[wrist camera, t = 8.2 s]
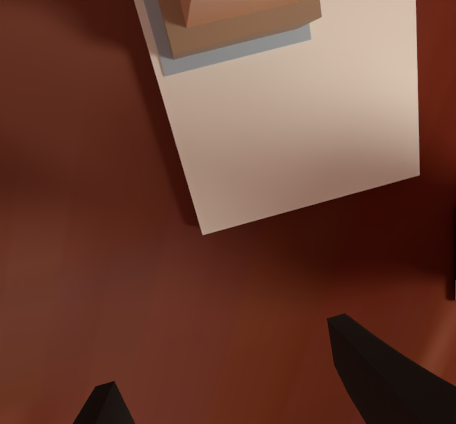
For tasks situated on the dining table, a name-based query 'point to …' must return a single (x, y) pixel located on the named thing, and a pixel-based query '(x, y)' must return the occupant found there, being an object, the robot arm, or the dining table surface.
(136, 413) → the dining table surface
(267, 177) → the board
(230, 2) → the terracotta block
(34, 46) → the dining table surface
